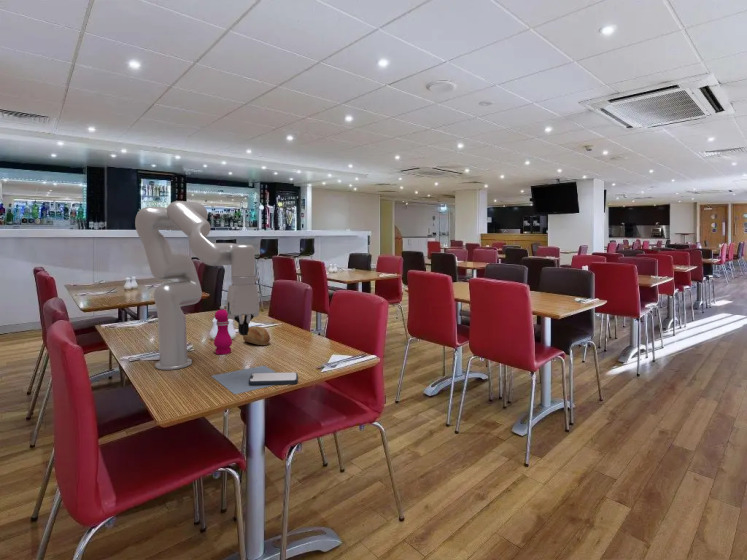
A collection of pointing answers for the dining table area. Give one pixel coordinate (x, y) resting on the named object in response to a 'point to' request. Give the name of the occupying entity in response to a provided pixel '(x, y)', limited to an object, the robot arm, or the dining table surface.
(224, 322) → the pepper mill
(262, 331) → the bread roll
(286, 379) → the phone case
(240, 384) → the slate mat
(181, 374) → the dining table surface
